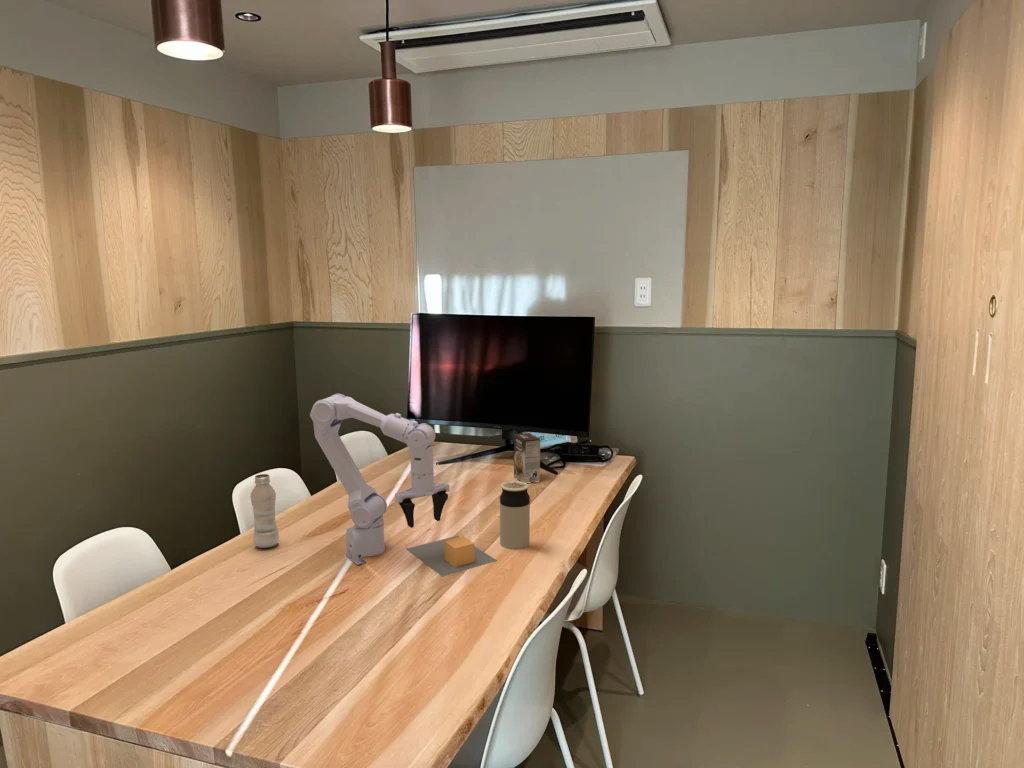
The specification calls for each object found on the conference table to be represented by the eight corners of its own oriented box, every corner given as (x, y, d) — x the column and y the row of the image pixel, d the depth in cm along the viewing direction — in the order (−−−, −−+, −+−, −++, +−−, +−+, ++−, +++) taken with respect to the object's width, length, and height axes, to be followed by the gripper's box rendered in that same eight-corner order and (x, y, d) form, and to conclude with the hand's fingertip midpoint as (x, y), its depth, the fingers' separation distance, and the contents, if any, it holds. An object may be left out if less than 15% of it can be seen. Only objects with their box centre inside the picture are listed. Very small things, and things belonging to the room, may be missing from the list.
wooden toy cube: (455, 567, 173) (455, 548, 172) (444, 559, 178) (444, 541, 177) (474, 561, 176) (474, 543, 175) (463, 554, 181) (463, 536, 180)
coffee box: (513, 477, 250) (513, 434, 247) (529, 475, 253) (529, 432, 250) (524, 484, 242) (524, 439, 239) (540, 482, 245) (540, 437, 242)
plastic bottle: (271, 551, 186) (267, 480, 182) (248, 549, 187) (243, 478, 184) (284, 542, 192) (279, 473, 189) (262, 540, 193) (257, 471, 190)
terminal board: (442, 582, 168) (442, 562, 167) (405, 554, 185) (405, 536, 184) (497, 566, 177) (497, 547, 176) (457, 540, 193) (457, 523, 193)
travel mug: (526, 555, 184) (526, 490, 180) (497, 553, 185) (497, 488, 182) (531, 543, 191) (532, 481, 188) (503, 541, 193) (503, 479, 190)
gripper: (403, 481, 169) (405, 534, 171) (454, 470, 177) (456, 521, 179) (390, 474, 175) (393, 525, 177) (441, 464, 183) (442, 513, 185)
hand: (424, 523), depth 178 cm, fingers open, 7 cm apart
